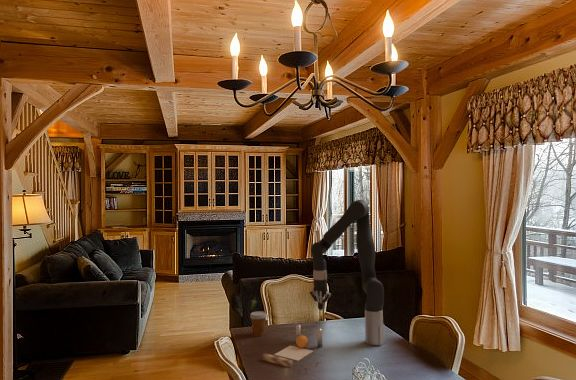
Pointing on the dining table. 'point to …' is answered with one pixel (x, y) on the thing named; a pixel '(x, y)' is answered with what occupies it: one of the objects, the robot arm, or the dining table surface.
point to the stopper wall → (278, 360)
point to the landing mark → (294, 353)
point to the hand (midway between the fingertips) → (320, 309)
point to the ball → (302, 341)
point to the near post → (319, 337)
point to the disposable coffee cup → (258, 322)
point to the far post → (298, 330)
